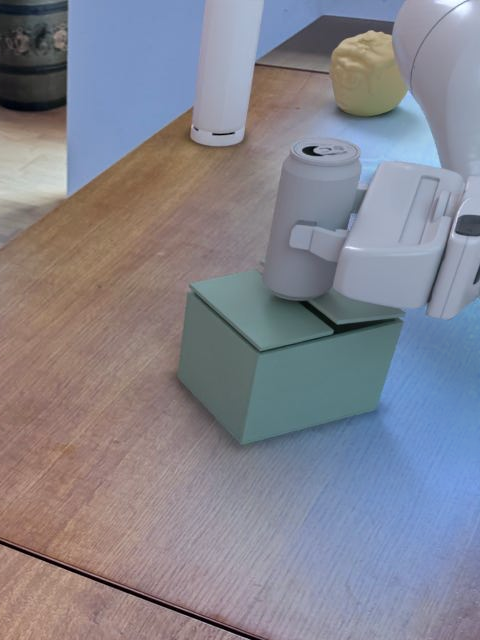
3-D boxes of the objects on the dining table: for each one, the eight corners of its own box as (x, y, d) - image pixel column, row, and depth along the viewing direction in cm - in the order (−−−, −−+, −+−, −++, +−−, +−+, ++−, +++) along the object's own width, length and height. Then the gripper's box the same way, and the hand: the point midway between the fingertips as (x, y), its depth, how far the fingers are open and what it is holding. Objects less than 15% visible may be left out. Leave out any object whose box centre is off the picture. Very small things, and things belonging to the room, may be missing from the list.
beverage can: (255, 273, 86) (279, 135, 77) (324, 271, 85) (356, 132, 77) (266, 305, 81) (293, 163, 73) (339, 304, 81) (374, 161, 72)
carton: (301, 348, 97) (323, 254, 90) (375, 411, 89) (406, 313, 81) (176, 378, 94) (188, 283, 87) (241, 447, 86) (260, 347, 78)
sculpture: (310, 107, 147) (325, 29, 140) (367, 93, 151) (385, 17, 143) (359, 128, 140) (378, 47, 133) (418, 113, 144) (439, 34, 136)
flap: (322, 258, 90) (323, 254, 90) (404, 317, 82) (406, 312, 81) (259, 263, 88) (260, 259, 88) (337, 324, 80) (338, 320, 79)
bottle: (208, 125, 144) (236, -101, 123) (253, 135, 140) (290, -96, 119) (179, 140, 140) (203, -91, 119) (225, 151, 136) (258, -85, 115)
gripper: (495, 151, 79) (332, 134, 83) (472, 251, 66) (282, 225, 70) (470, 224, 83) (317, 205, 87) (445, 331, 71) (268, 302, 75)
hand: (301, 215), depth 79 cm, fingers closed on beverage can, 6 cm apart
